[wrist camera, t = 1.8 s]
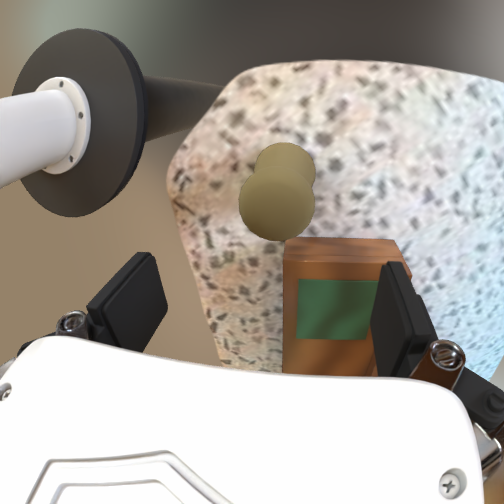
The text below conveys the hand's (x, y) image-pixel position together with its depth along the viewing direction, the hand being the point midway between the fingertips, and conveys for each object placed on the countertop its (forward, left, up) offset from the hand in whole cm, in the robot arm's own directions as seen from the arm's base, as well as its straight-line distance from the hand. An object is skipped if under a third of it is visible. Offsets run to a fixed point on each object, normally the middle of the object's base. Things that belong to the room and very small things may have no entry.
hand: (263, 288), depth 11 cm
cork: (0, 0, -19) cm, 19 cm away
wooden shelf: (+6, -18, -19) cm, 27 cm away
